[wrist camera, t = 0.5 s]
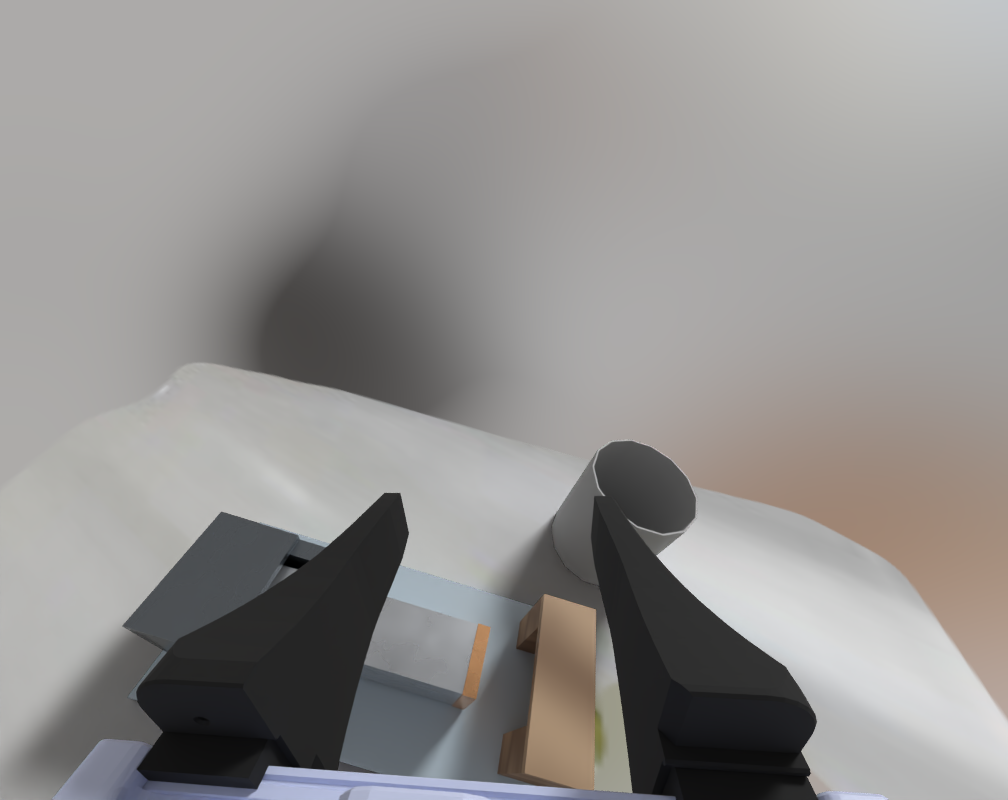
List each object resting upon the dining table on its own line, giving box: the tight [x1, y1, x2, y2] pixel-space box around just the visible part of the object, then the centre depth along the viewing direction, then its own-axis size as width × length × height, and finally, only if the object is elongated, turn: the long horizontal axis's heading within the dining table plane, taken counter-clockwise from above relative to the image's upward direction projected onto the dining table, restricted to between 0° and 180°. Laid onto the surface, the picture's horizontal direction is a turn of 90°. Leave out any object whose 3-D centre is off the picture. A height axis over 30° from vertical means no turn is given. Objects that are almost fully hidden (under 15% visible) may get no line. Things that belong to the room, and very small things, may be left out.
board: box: [127, 523, 535, 786], centre depth 25 cm, size 11×25×1 cm, turn 78°
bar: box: [267, 565, 491, 710], centre depth 23 cm, size 4×17×5 cm, turn 78°
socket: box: [497, 594, 596, 790], centre depth 23 cm, size 8×4×6 cm, turn 168°
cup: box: [552, 440, 698, 586], centre depth 32 cm, size 8×8×10 cm
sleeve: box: [123, 512, 326, 652], centre depth 23 cm, size 6×8×6 cm
